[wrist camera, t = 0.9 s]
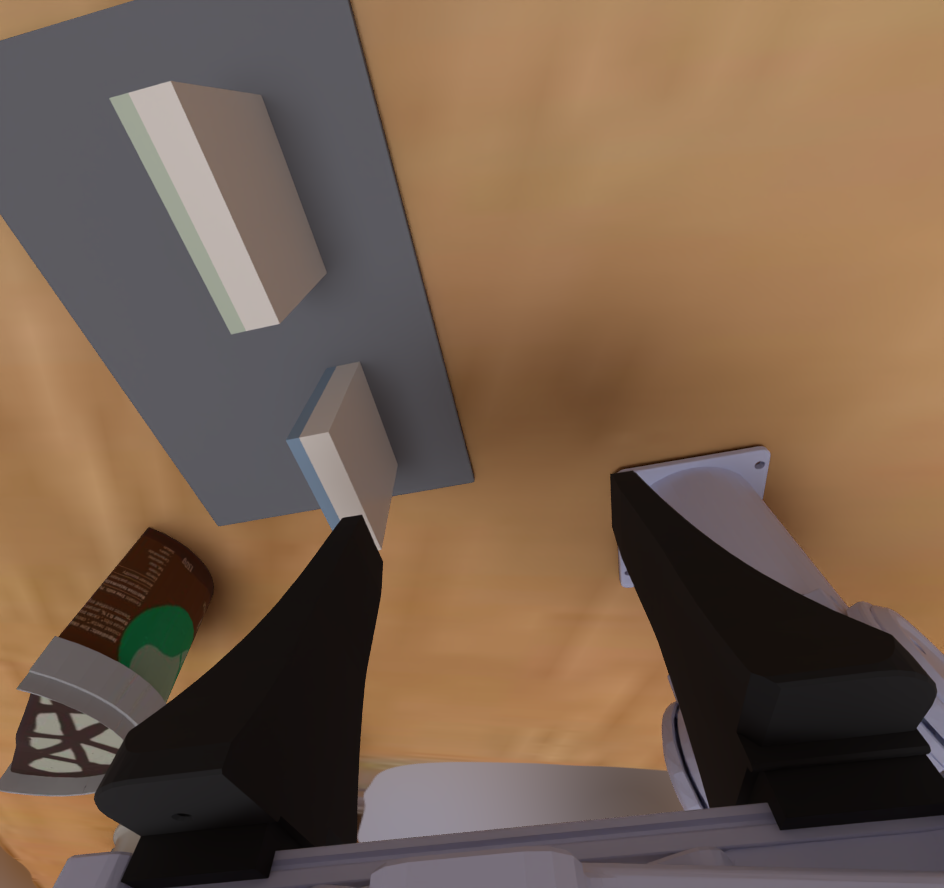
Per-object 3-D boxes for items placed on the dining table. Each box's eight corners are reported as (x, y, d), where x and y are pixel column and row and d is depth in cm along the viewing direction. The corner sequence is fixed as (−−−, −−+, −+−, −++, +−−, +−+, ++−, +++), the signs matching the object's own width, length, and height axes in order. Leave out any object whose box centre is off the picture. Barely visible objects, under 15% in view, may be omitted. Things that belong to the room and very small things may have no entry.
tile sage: (326, 272, 19) (279, 323, 14) (290, 281, 20) (231, 334, 15) (261, 95, 16) (170, 80, 11) (217, 106, 16) (108, 97, 11)
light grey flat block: (397, 464, 25) (381, 549, 20) (368, 470, 25) (345, 555, 20) (359, 361, 22) (328, 432, 17) (326, 368, 22) (285, 440, 17)
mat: (474, 477, 26) (474, 482, 26) (221, 521, 27) (218, 526, 27) (335, -56, 14) (332, -60, 14) (-88, 72, 16) (-100, 71, 16)
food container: (202, 651, 35) (120, 817, 26) (111, 624, 33) (-9, 794, 24) (260, 551, 29) (178, 722, 21) (154, 511, 27) (17, 682, 19)
